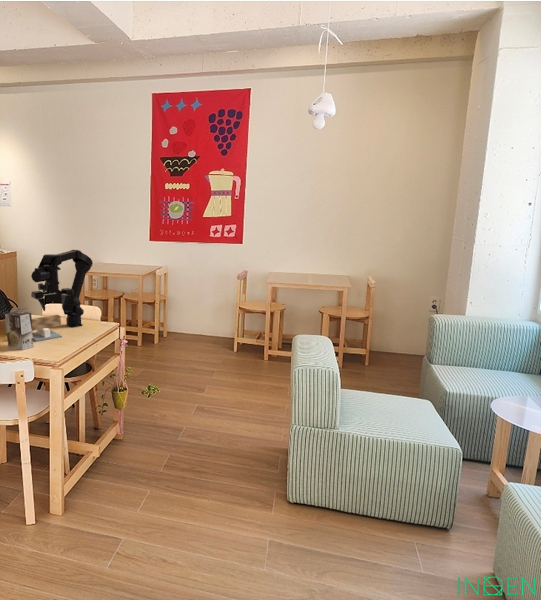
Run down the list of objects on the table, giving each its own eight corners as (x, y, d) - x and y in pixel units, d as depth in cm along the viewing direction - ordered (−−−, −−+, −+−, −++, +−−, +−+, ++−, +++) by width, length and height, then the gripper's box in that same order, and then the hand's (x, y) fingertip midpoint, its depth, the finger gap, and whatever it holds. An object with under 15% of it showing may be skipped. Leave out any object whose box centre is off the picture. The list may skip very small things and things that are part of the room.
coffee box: (34, 346, 204) (32, 312, 201) (22, 350, 198) (20, 315, 195) (19, 343, 207) (16, 310, 204) (7, 347, 201) (4, 313, 198)
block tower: (22, 336, 223) (29, 320, 249) (21, 320, 221) (28, 306, 247) (4, 337, 220) (13, 321, 246) (3, 320, 218) (12, 306, 244)
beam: (57, 324, 226) (57, 314, 225) (61, 325, 224) (60, 316, 223) (24, 329, 214) (24, 319, 213) (28, 331, 212) (27, 321, 211)
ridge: (50, 331, 229) (50, 323, 228) (61, 337, 219) (61, 328, 219) (25, 335, 220) (25, 326, 219) (36, 341, 211) (35, 332, 210)
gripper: (64, 276, 234) (65, 304, 237) (26, 279, 221) (28, 309, 224) (73, 278, 227) (74, 308, 230) (34, 282, 213) (36, 313, 216)
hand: (53, 309), depth 225 cm, fingers open, 9 cm apart
